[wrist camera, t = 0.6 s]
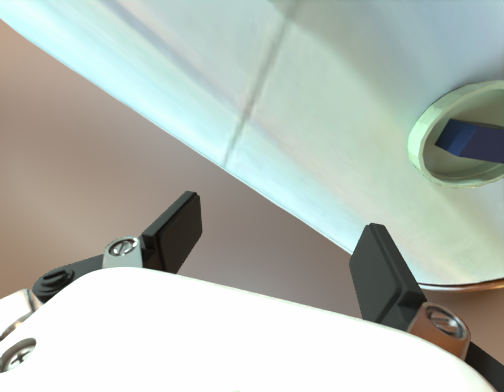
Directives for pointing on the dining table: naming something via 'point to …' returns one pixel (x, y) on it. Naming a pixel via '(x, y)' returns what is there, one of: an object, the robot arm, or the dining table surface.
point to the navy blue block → (473, 140)
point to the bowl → (433, 122)
